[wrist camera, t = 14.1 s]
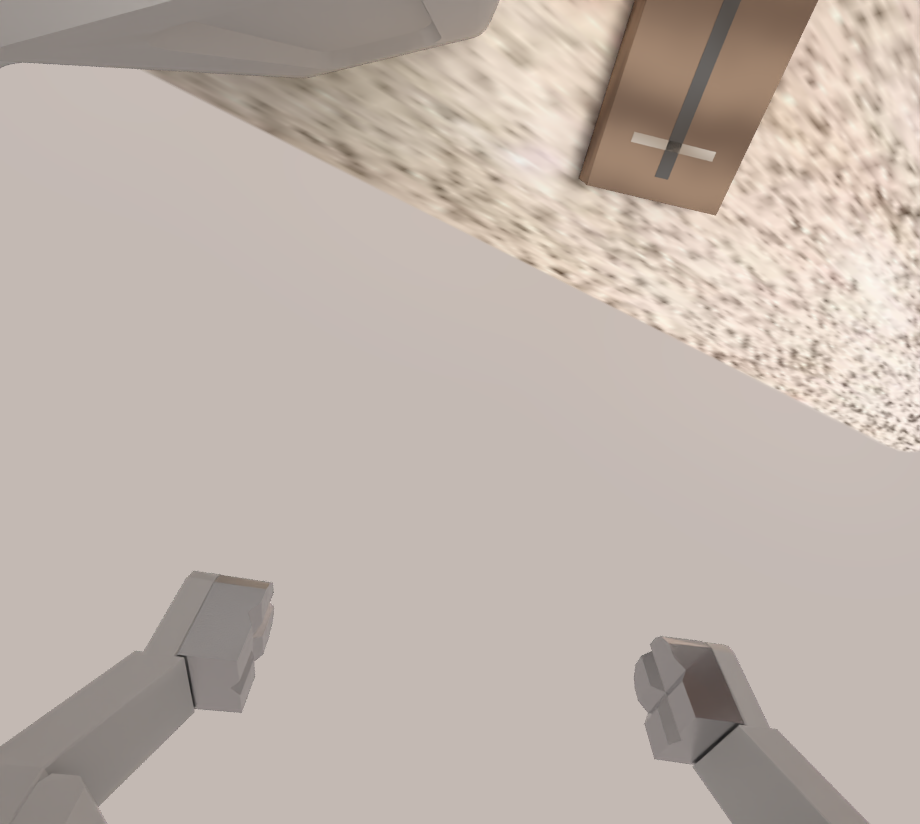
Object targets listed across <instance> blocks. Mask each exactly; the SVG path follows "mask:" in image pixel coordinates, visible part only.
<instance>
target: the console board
mask: <svg viewBox="0 0 920 824" xmlns="http://www.w3.org/2000/svg"><path fill="white" fill-rule="evenodd" d="M817 2H818V0H635V1H634V5H633V8H632V11H631V14H630V17H629V21H628V24H627V27H626V30H625V33H624V36H623V40H622V43H621V46H620V49H619V52H618V55H617V59H616V62H615V65H614V68H613V71H612V75H611V78H610V81H609V84H608V87H607V90H606V94H605V97H604V100H603V103H602V106H601V110H600V113H599V116H598V119H597V122H596V125H595V129H594V132H593V135H592V138H591V141H590V145H589V148H588V151H587V154H586V157H585V160H584V164H583V167H582V170H581V173H580V176H579V179H580V180H581V181H583V182H584V183H585V184H586V185H589V186H594V187H598V188H602V189H606V190H611V191H615V192H619V193H623V194H627V195H632V196H636V197H640V198H644V199H649V200H653V201H657V202H661V203H665V204H670V205H674V206H678V207H682V208H687V209H691V210H695V211H699V212H703V213H708V214H712V215H716V214H717V212H718V210H719V208H720V206H721V204H722V201H723V199H724V197H725V195H726V193H727V191H728V189H729V187H730V185H731V183H732V180H733V178H734V176H735V174H736V172H737V170H738V168H739V166H740V164H741V161H742V159H743V157H744V155H745V153H746V151H747V149H748V147H749V145H750V143H751V140H752V138H753V136H754V134H755V132H756V130H757V128H758V126H759V124H760V122H761V119H762V117H763V115H764V113H765V111H766V109H767V107H768V105H769V103H770V101H771V98H772V96H773V94H774V92H775V90H776V88H777V86H778V84H779V82H780V79H781V77H782V75H783V73H784V71H785V69H786V67H787V65H788V63H789V61H790V58H791V56H792V54H793V52H794V50H795V48H796V46H797V44H798V42H799V40H800V37H801V35H802V33H803V31H804V29H805V27H806V25H807V23H808V21H809V19H810V16H811V14H812V12H813V10H814V8H815V6H816V4H817Z"/></svg>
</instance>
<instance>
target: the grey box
mask: <svg viewBox="0 0 920 824" xmlns="http://www.w3.org/2000/svg"><path fill="white" fill-rule="evenodd" d="M498 3H499V0H0V61H7V62H25V63H26V62H27V63H43V64H60V65H79V66H96V67H97V66H98V67H114V68H115V67H116V68H132V69H133V68H134V69H150V70H167V71H185V72H203V73H221V74H239V75H256V76H274V77H292V78H309V77H313V76H317V75H321V74H326V73H330V72H334V71H338V70H342V69H346V68H350V67H354V66H359V65H363V64H367V63H371V62H375V61H379V60H383V59H387V58H392V57H396V56H400V55H404V54H408V53H412V52H416V51H420V50H425V49H429V48H433V47H437V46H441V45H445V44H449V43H453V42H458V41H462V40H466V39H470V38H474V37H476V36H479V35H481V34H482V33H483V32H484V31H485V30H486V28H487V27H488V25H489V23H490V21H491V19H492V17H493V14H494V12H495V10H496V7H497V5H498Z"/></svg>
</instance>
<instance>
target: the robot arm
mask: <svg viewBox="0 0 920 824" xmlns="http://www.w3.org/2000/svg"><path fill="white" fill-rule="evenodd" d="M15 63H22V62H7V61H0V68H1V67H4V66H6V65H9V64H15ZM273 593H274V592H273V583H271V582H265V581H258V580H252V579H244V578H238V577H231V576H224V575H220V574H213V573H206V572H198V571H193V572H192V573H191V574H190V575H189V576H188V577H187V578H186V579H185V581H184V583H183V584H182V586H181V588H180V589H179V591H178V593H177V595H176V596H175V598H174V600H173V602H172V604H171V605H170V607H169V609H168V610H167V612H166V614H165V615H164V618H163V619H162V621H161V622H160V624H159V626H158V627H157V629H156V631H155V633H154V634H153V636H152V638H151V640H150V641H149V643H148V645H147V646H146V648H145V650H144V652H141V651H134V652H133V653H131V654H130V655H129V656H127V657H126V658H124V659H123V660H122V661H120V662H119V663H117V664H116V665H114V666H113V667H112V668H110V669H109V670H108V671H106V672H105V673H104V674H102V675H101V676H99V677H98V678H96V679H95V680H93V681H92V682H91V683H89V684H88V685H86V686H85V687H84V688H82V689H81V690H79V691H78V692H77V693H75V694H74V695H72V696H71V697H69V698H68V699H67V700H65V701H64V702H62V703H61V704H59V705H58V706H57V707H55V708H54V709H52V710H51V711H50V712H48V713H47V714H45V715H44V716H43V717H41V718H40V719H38V720H37V721H35V722H34V723H33V724H31V725H30V726H28V727H27V728H26V729H24V730H23V731H21V732H20V733H19V734H17V735H16V736H14V737H13V738H12V739H10V740H9V741H7V742H6V743H5V744H3V745H2V746H0V824H107V822H106V820H105V819H104V817H103V815H102V813H101V812H100V810H99V808H98V807H99V806H100V804H102V803H103V802H104V801H105V800H106V799H107V798H108V797H109V796H110V795H111V794H112V793H113V792H114V791H115V790H116V789H117V788H118V787H119V786H120V785H121V784H122V783H123V782H124V781H125V780H126V779H127V778H128V777H129V776H130V775H131V774H132V773H133V772H134V771H135V770H136V769H137V768H138V767H139V766H140V765H141V764H142V763H143V762H144V761H145V760H146V759H147V758H148V757H149V756H150V755H151V754H152V753H153V752H154V751H155V750H156V749H158V748H159V746H161V745H162V744H163V743H164V741H166V740H167V739H168V738H169V737H170V736H171V735H172V734H173V733H174V732H175V731H176V730H177V729H178V727H180V726H181V725H182V724H183V723H184V722H185V721H186V720H187V719H188V718H189V717H190V716H191V715H192V714H193V713H194V709H203V710H215V711H227V712H239V713H241V712H242V710H243V707H244V705H245V702H246V699H247V697H248V694H249V691H250V689H251V686H252V683H253V680H254V678H255V670H254V661H255V660H257V659H258V658H259V657H260V656H261V655H263V653H264V650H265V647H266V644H267V641H268V638H269V634H270V630H271V627H272V621H273V614H274V606H273V605H272V604H271V603H270V601H271V598H272V596H273ZM650 646H651V649H652V651H651V652H649V653H647V654H644V655H642V656H641V657H640V659H639V660H638V662H637V663H636V666H635V673H634V684H635V691H636V694H637V698H638V701H639V702H640V704H641V705H642V706H643V707H644V708H645V710H646V711H647V712H648V715H647V718H646V721H645V727H646V731H647V734H648V738H649V741H650V745H651V748H652V752H653V755H654V759H658V760H665V761H672V762H679V763H686V764H693V765H694V766H693V768H694V769H695V771H696V772H697V774H698V775H699V777H700V778H701V780H702V781H703V782H704V784H705V785H706V787H707V788H708V789H709V791H710V792H711V794H712V795H713V796H714V798H715V800H716V801H717V802H718V804H719V805H720V806H721V808H722V809H723V811H724V812H725V814H726V815H727V817H728V818H729V819H730V821H731V822H732V824H869V823H868V822H867V821H866V820H865V819H864V817H863V816H861V814H860V813H859V812H857V811H856V809H855V808H854V807H853V806H852V805H851V804H850V803H849V802H848V801H847V800H846V799H845V798H844V797H843V796H842V795H841V794H840V793H839V792H838V791H837V790H836V789H835V788H834V787H833V786H832V785H831V784H830V783H829V782H828V781H827V780H826V779H825V778H824V777H823V776H822V775H821V774H820V773H819V772H818V771H817V770H816V769H815V768H814V767H813V766H812V765H811V764H810V763H809V762H808V761H807V760H806V758H805V757H804V756H803V755H802V754H801V753H800V752H799V751H798V750H797V749H796V748H795V747H794V746H793V745H792V744H791V743H790V742H789V741H788V740H787V739H786V738H785V737H784V736H783V735H782V734H781V733H780V732H779V731H778V730H777V729H772V728H770V727H769V725H768V723H767V721H766V719H765V716H764V714H763V712H762V710H761V708H760V706H759V704H758V702H757V700H756V697H755V695H754V693H753V691H752V689H751V687H750V685H749V683H748V681H747V679H746V676H745V674H744V673H743V670H742V668H741V666H740V664H739V662H738V660H737V658H736V656H735V654H734V652H733V651H732V650H731V649H730V647H729V646H726V645H722V644H716V643H708V642H702V641H697V640H688V639H680V638H672V637H663V636H660V637H657V638H655V639H654V640H653V641H652V643H651V644H650Z"/></svg>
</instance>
